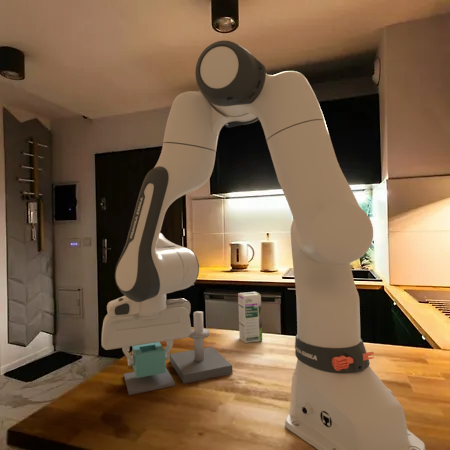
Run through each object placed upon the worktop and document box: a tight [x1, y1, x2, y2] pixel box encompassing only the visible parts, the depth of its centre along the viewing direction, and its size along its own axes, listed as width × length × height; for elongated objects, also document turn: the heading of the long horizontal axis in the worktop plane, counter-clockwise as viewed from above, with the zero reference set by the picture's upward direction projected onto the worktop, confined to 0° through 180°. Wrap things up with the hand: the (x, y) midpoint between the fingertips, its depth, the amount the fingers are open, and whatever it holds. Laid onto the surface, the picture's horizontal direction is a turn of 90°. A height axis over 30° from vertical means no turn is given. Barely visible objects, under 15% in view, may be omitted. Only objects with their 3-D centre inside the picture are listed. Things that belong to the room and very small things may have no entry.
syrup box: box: [237, 291, 263, 344], centre depth 103 cm, size 6×6×14 cm
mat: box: [123, 365, 176, 396], centre depth 77 cm, size 10×10×1 cm
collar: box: [131, 342, 166, 378], centre depth 77 cm, size 6×6×5 cm
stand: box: [169, 310, 233, 385], centre depth 83 cm, size 14×12×14 cm
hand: (148, 361), depth 77 cm, fingers closed on collar, 6 cm apart
